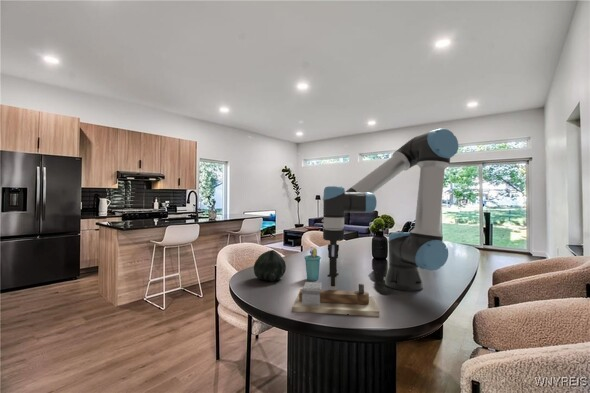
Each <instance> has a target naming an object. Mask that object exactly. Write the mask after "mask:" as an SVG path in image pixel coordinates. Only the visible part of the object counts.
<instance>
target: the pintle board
mask: <svg viewBox="0 0 590 393" xmlns="http://www.w3.org/2000/svg"><path fill="white" fill-rule="evenodd" d="M292 312H294V313H296V312H298V313H313V314H314V313H316V314H330V315H331V314H333V315H347V314H349V315H350V316H364V317H365V316H367V317H368V316H369V317H380V309H379V306H378V304H377V302H376V299H375V297H374V296H369V303H368V304H366V305H360V304H350V303H329V302H321V303H320V306H302V301H299V293H298V294H297V296H296V299H295V301H294V303H293V305H292ZM349 315H348V316H349Z"/></svg>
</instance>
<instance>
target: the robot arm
mask: <svg viewBox="0 0 590 393" xmlns="http://www.w3.org/2000/svg"><path fill="white" fill-rule="evenodd" d="M458 150H459V140H458V138H457V136H456V135H454V132H452V131H451V130H449V129H446V128H438V129H432V130H430V131H429V132H426V133H423V134H421V135H417V136H415V137H413V138H411V139H410V140H408V141H407V142H406V143H405V144H402V145H401V146H400V147H399V148H398V149H397V150H395V151H394V152H393V153H392V155H391V157H390V158H389V159H387V160H386V161H384V162H383V163H382V164H381V165H379V166H378V167H376V168H375V169H373V171H371V172H370V173H368V174H367V175H366V176H365V177H363V178H362V179H361V180H359V181H357V182H356V183H355V184H354V185H352V186H351V187H350V188H348V189H347V190H345V187H344V186H342V185H341V186H338V185H337V186H335V185H332V186H330V185H329V186H328V185H327V186H325V187H324V189H323V196H322V201H323V204H322V205H323V207H322V208H323V209H322V210H323V219H321V222H322V224H323V225H322V226H323V228H324V229H323V230H322V239H323V240H324V241H329V243H328V245H327V250H328V253H327V254H328V255H327V256H328V258H329V260H328V261H329V262H328V263H329V264H328V266H329V267H328V268H329V273H328V274H327V278H329V279H328V281H329V282H328V290H338V276H339V275H340V274H339V273H338V269H337V268H338V264H337V263H338V260H337V259H339V251H340V244H338V242H341V241H344V240H345V231H344V228H345V213H357V214H358V213H360V214H361V213H364V214H366V213H373V212H374V211H375V210H376V208H377V197H376V195H375V194H374V193H375V192H377V191H378V190H380V189H381V188H382V187H384V186H385V185H386V184H388V183H389V182H390V181H391V180H393V179H394V178H395V177H396V176H398V175H399V174H400V173H401V172H403V171H409V170H410V169H411V168H413V167H415V166H418V167H419V169H420V171H419V172H420V173H419V180H418V189H417V190H418V191H417V200H416V212H415V222H414V228H413V229H411V230H410V231H409V232H392V233H390V234H389V235H388V242H387V243H388V263H389V264H388V269H387V272H386V275H385V277H384V278H385V279H384V282H385V283H384V285H385V286H387V287H389V288H390V289H393V290H399V291H408V292H409V291H410V292H411V291H413V292H414V291H419V290H423V286H424V285H423V280H422V277H421V274H420V271H419V269H421V270H424V271H425V270H426V271H432V272H433V271H437V270H439V269H441V268H442V267H444V266H445V264H446V263H447V261H448V259H449V248H448V247H447V245H446V244H445V243H444V242H443V237H444V236H443V234H442V233H441V232H440V223H441V222H440V221H441V212H442V211H441V210H442V203H443V201H442V199H443V192H444V190H443V189H444V180H445V170H446V169H447V168H448V167H449V166H450V164H451V158H453V157H454V156H455V155H456V154H457V153H458ZM418 268H419V269H418Z"/></svg>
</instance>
